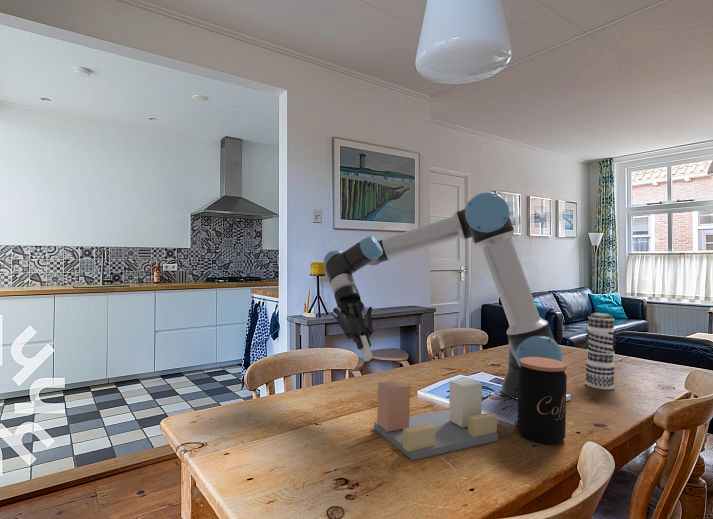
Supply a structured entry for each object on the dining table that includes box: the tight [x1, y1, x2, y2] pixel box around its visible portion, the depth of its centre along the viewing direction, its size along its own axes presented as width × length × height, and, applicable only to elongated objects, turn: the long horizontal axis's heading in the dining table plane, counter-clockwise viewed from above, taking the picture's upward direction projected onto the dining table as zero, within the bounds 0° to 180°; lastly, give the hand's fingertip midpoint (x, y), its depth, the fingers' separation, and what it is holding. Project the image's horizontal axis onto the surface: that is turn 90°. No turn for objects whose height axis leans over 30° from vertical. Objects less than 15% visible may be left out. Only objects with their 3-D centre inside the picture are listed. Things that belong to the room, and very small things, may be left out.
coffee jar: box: [516, 357, 568, 445], centre depth 97 cm, size 11×11×18 cm
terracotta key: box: [376, 379, 411, 432], centre depth 97 cm, size 5×6×10 cm
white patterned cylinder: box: [585, 312, 617, 390], centre depth 139 cm, size 9×9×25 cm
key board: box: [373, 409, 499, 461], centre depth 97 cm, size 17×25×6 cm
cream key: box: [448, 377, 483, 428], centre depth 100 cm, size 5×6×10 cm
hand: (368, 358), depth 109 cm, fingers closed
